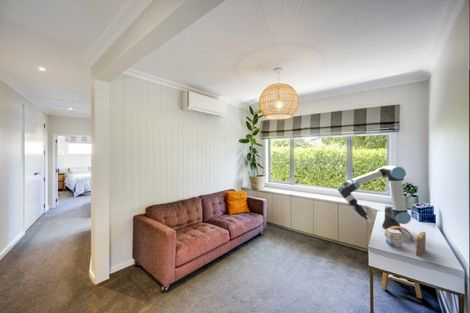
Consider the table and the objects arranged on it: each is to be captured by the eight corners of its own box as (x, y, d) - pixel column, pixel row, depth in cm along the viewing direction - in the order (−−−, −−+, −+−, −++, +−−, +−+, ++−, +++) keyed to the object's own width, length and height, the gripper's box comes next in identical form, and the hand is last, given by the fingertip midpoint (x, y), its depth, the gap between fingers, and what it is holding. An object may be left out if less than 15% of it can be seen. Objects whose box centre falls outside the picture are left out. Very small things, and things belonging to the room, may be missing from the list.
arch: (413, 241, 177) (414, 230, 177) (385, 236, 187) (385, 225, 187) (412, 239, 182) (412, 228, 182) (384, 234, 192) (384, 224, 192)
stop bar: (421, 248, 164) (422, 231, 164) (425, 249, 162) (425, 232, 162) (416, 255, 153) (416, 237, 153) (419, 256, 151) (420, 237, 151)
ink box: (389, 245, 169) (389, 231, 168) (385, 241, 177) (386, 228, 176) (402, 247, 166) (402, 233, 165) (398, 243, 173) (398, 229, 173)
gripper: (351, 201, 203) (369, 223, 190) (345, 203, 195) (364, 226, 183) (357, 197, 199) (376, 218, 186) (351, 199, 191) (371, 221, 178)
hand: (370, 222), depth 184 cm, fingers closed
